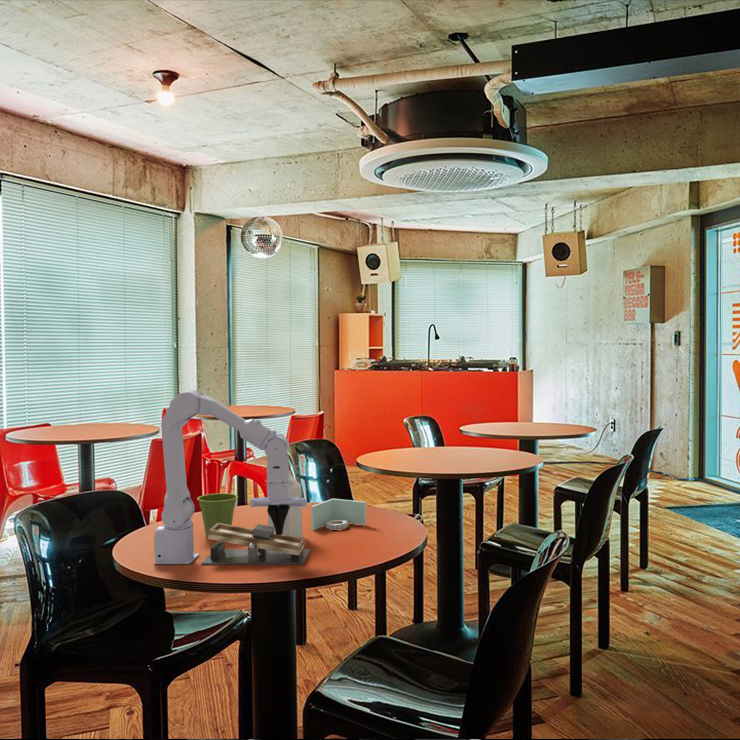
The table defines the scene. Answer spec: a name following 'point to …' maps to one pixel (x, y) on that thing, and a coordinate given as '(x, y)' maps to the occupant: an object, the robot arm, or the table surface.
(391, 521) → the table surface
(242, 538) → the beam
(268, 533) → the block
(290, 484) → the milk carton
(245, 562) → the beam stand
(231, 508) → the plant pot
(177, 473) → the robot arm
